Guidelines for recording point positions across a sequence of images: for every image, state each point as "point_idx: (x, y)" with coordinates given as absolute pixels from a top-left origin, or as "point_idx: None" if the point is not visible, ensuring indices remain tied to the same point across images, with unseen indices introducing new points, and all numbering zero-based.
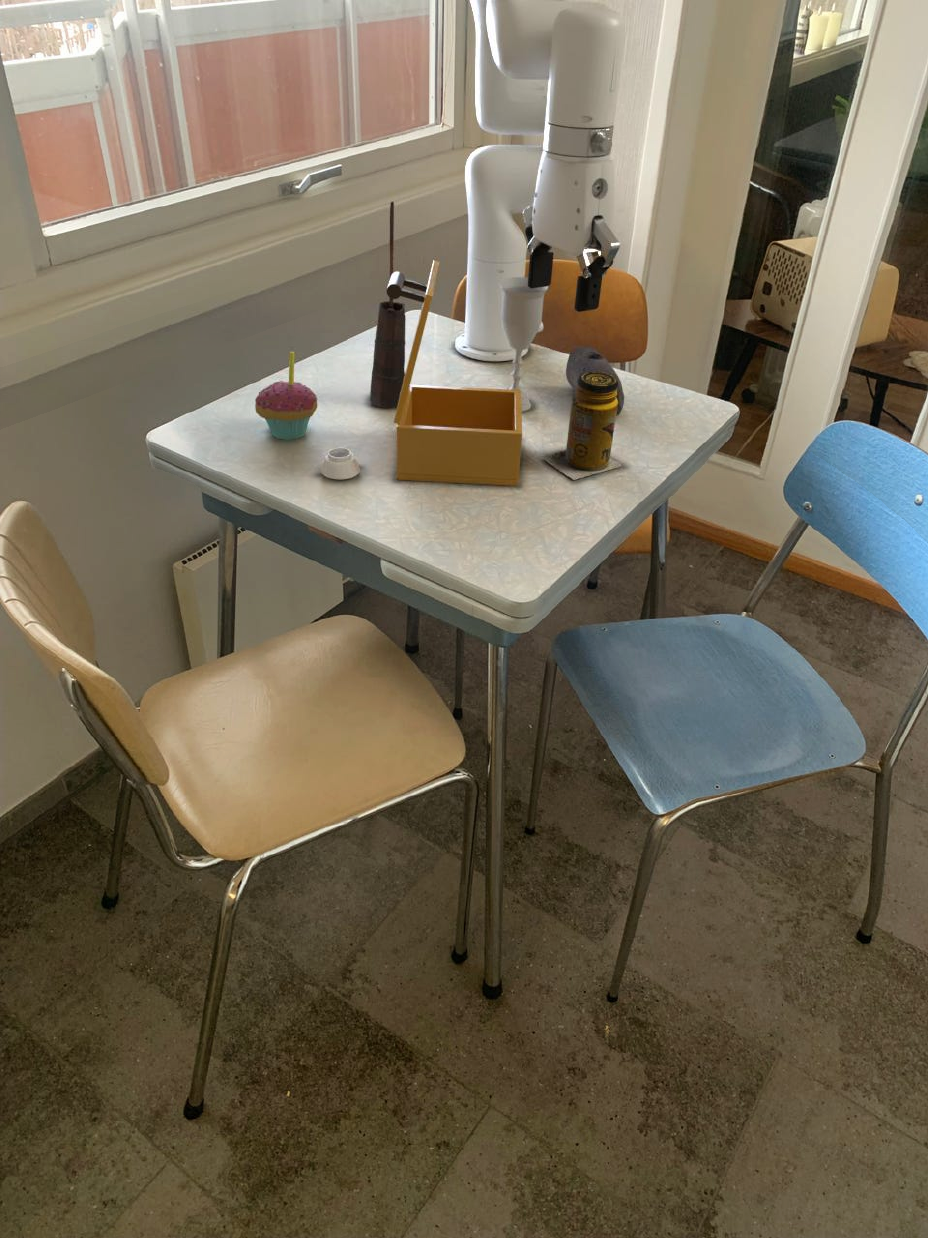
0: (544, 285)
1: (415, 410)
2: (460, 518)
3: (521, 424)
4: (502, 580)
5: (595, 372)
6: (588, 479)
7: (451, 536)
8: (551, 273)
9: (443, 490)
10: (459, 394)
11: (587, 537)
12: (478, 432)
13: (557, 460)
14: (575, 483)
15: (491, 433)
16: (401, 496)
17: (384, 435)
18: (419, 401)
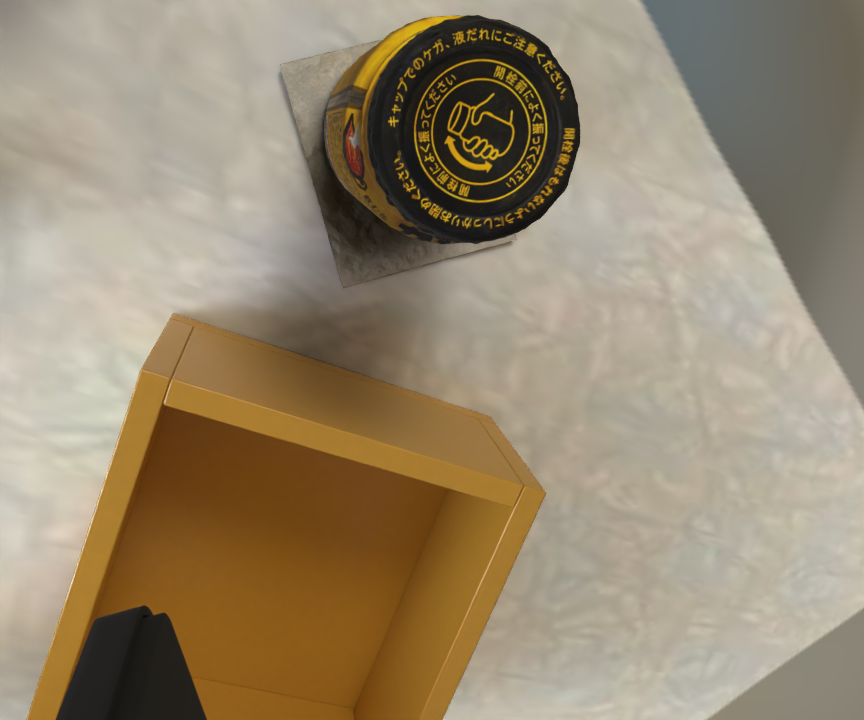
0: (186, 672)
1: None
2: (597, 601)
3: (474, 472)
4: (852, 572)
5: (403, 111)
6: None
7: (663, 635)
8: (141, 689)
9: None
10: (96, 602)
11: (791, 329)
12: (484, 624)
13: (375, 237)
14: (527, 238)
15: (502, 585)
16: (451, 712)
17: None
18: None
